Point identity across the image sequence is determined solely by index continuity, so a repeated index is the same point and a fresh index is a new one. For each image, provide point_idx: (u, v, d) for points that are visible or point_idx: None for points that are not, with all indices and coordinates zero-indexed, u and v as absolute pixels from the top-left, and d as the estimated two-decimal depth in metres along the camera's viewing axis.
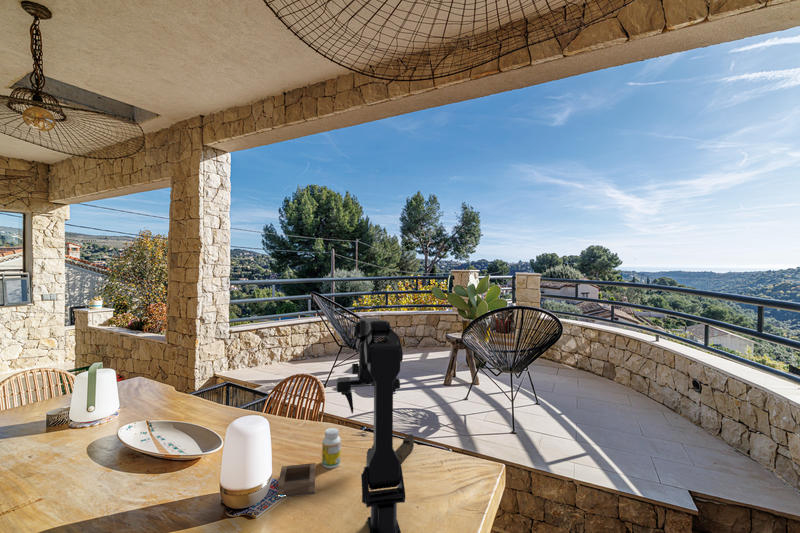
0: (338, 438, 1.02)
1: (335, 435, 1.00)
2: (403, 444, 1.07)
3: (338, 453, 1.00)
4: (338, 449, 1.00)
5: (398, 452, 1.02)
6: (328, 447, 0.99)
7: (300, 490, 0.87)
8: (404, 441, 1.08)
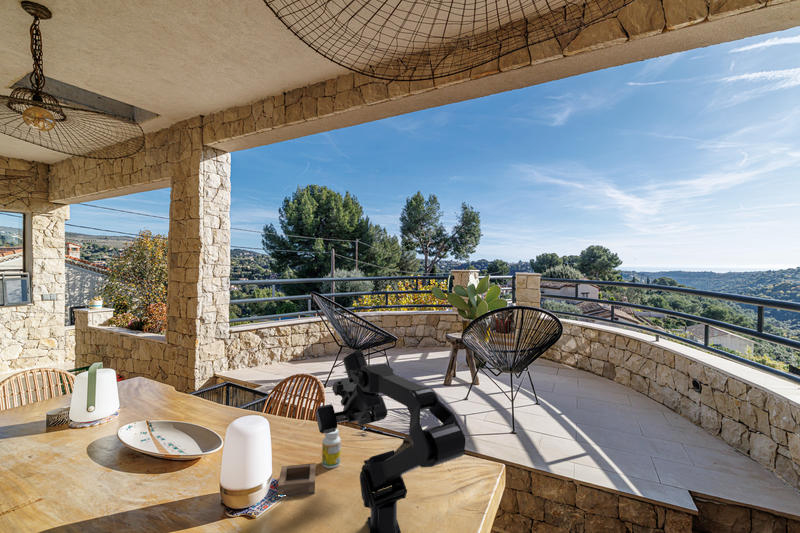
0: (338, 438, 1.02)
1: (335, 435, 1.00)
2: (403, 444, 1.07)
3: (338, 453, 1.00)
4: (338, 449, 1.00)
5: (398, 452, 1.02)
6: (328, 447, 0.99)
7: (300, 490, 0.87)
8: (404, 441, 1.08)
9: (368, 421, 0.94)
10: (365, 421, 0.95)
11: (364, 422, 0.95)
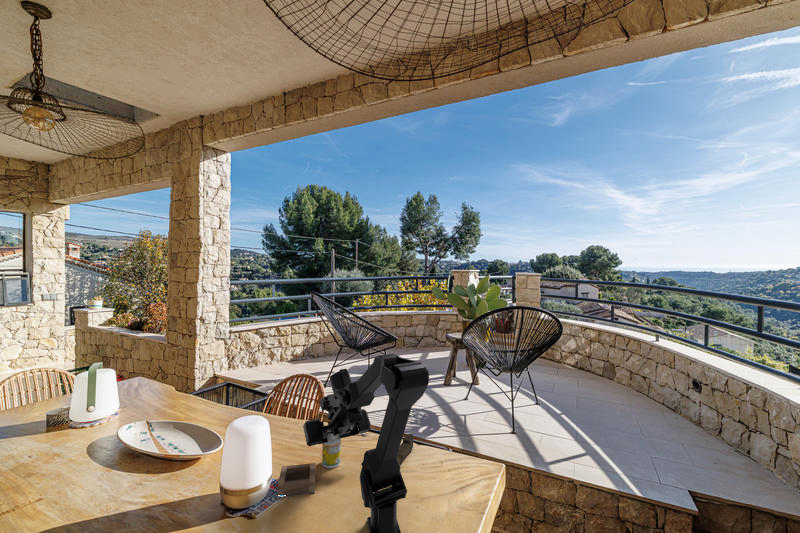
0: (338, 438, 1.02)
1: None
2: (403, 444, 1.07)
3: (338, 453, 1.00)
4: (338, 449, 1.00)
5: (398, 452, 1.02)
6: (328, 447, 0.99)
7: (300, 490, 0.87)
8: (404, 441, 1.08)
9: (347, 435, 1.00)
10: (344, 435, 1.01)
11: (344, 435, 1.02)
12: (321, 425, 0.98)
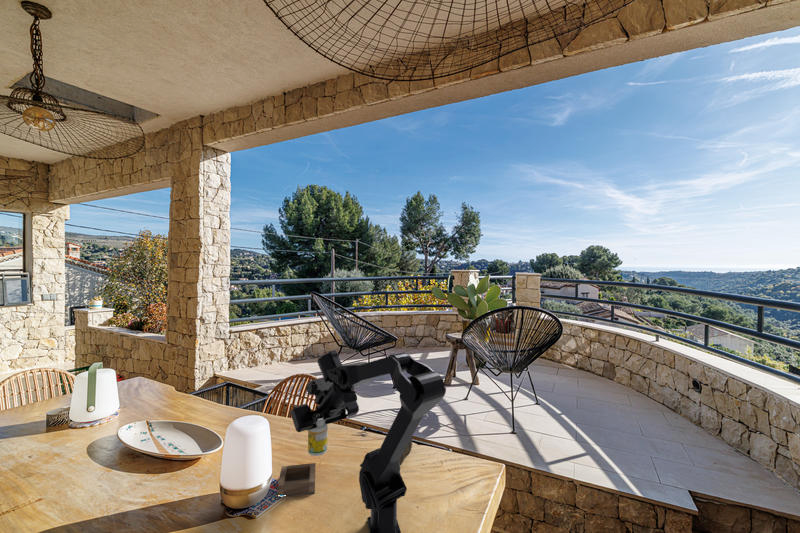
0: (325, 424, 0.98)
1: (322, 421, 0.97)
2: None
3: (325, 439, 0.97)
4: (325, 435, 0.97)
5: None
6: (315, 433, 0.95)
7: (300, 490, 0.87)
8: None
9: (335, 419, 0.97)
10: (332, 420, 0.98)
11: (331, 421, 0.98)
12: None
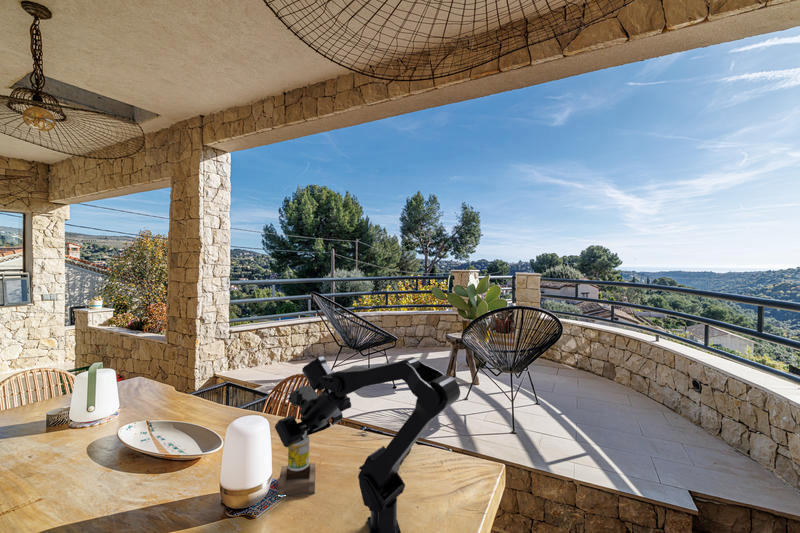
0: (306, 436, 0.92)
1: (305, 433, 0.91)
2: None
3: (308, 452, 0.91)
4: (308, 448, 0.91)
5: None
6: (298, 447, 0.89)
7: (300, 490, 0.87)
8: None
9: (318, 429, 0.92)
10: (314, 430, 0.92)
11: (313, 431, 0.93)
12: None
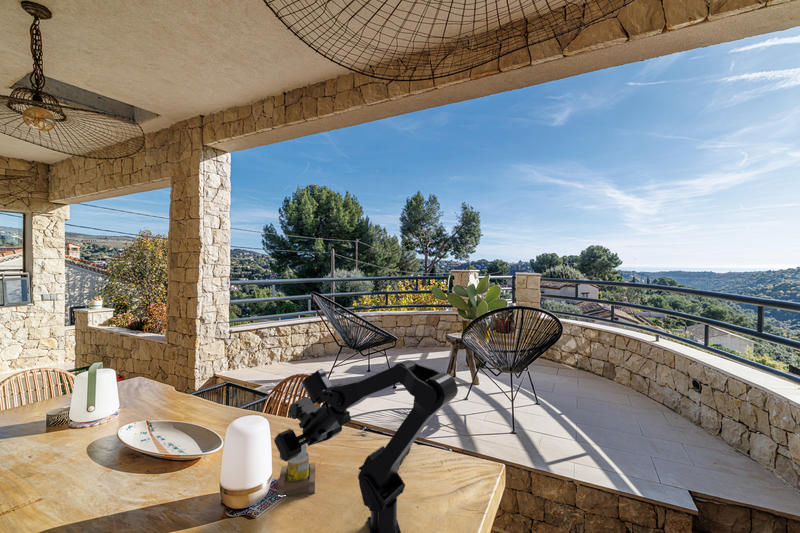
0: (306, 453, 0.92)
1: (304, 450, 0.90)
2: None
3: (307, 469, 0.91)
4: (307, 465, 0.91)
5: None
6: (298, 465, 0.88)
7: (300, 490, 0.87)
8: None
9: (322, 439, 0.93)
10: None
11: None
12: None
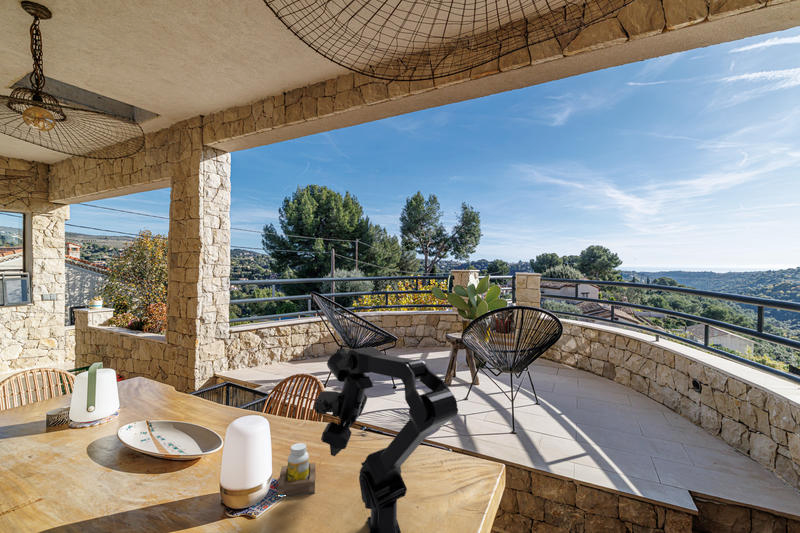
0: (306, 453, 0.92)
1: (304, 450, 0.90)
2: None
3: (307, 469, 0.91)
4: (307, 465, 0.91)
5: None
6: (298, 465, 0.88)
7: (300, 490, 0.87)
8: None
9: None
10: None
11: None
12: None
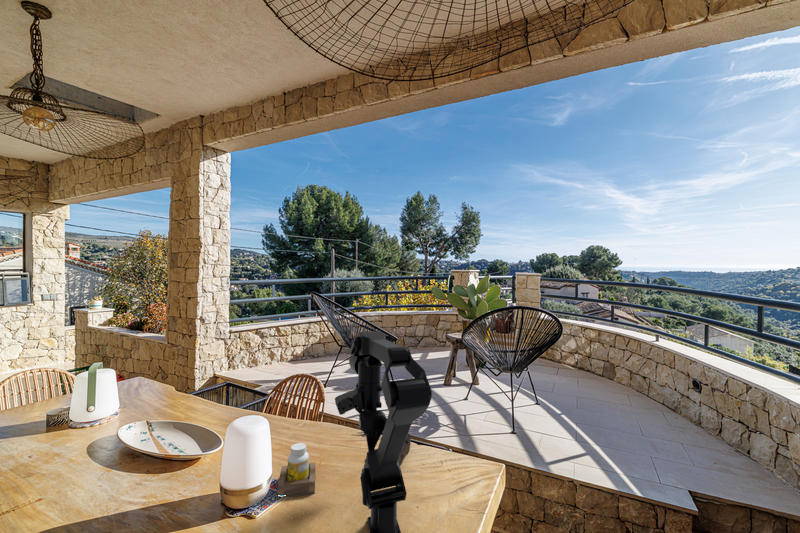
0: (306, 453, 0.92)
1: (304, 450, 0.90)
2: None
3: (307, 469, 0.91)
4: (307, 465, 0.91)
5: None
6: (298, 465, 0.88)
7: (300, 490, 0.87)
8: None
9: None
10: None
11: None
12: None
